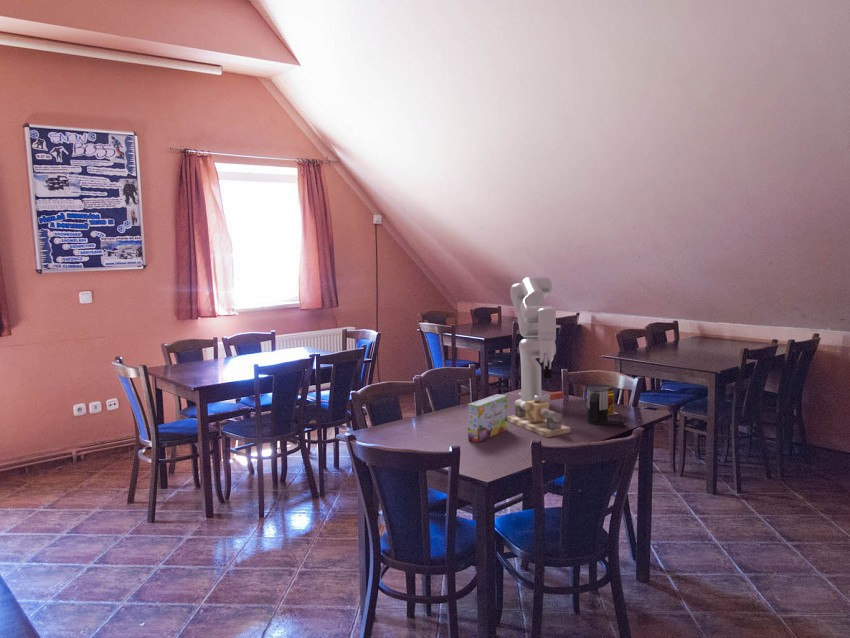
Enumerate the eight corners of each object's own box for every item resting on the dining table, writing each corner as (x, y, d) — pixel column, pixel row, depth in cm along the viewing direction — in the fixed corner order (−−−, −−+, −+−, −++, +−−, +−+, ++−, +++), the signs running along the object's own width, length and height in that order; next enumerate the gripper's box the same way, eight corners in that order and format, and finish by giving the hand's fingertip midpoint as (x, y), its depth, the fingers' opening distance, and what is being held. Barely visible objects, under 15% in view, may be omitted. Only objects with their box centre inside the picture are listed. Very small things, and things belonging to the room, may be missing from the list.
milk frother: (585, 418, 280) (585, 385, 278) (623, 419, 277) (623, 386, 276) (588, 428, 266) (588, 393, 265) (627, 428, 264) (627, 393, 262)
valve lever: (536, 402, 267) (536, 396, 267) (532, 401, 270) (532, 395, 269) (563, 398, 274) (563, 392, 274) (559, 397, 276) (559, 391, 276)
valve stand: (506, 420, 280) (506, 397, 279) (529, 416, 286) (528, 393, 284) (546, 437, 255) (546, 411, 254) (570, 432, 261) (570, 407, 259)
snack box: (479, 443, 251) (478, 405, 249) (467, 440, 254) (466, 403, 252) (508, 430, 267) (507, 394, 265) (496, 427, 270) (496, 393, 269)
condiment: (605, 416, 284) (605, 389, 282) (593, 411, 291) (593, 385, 290) (618, 413, 286) (618, 387, 285) (606, 409, 294) (606, 384, 293)
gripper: (540, 334, 284) (541, 374, 286) (535, 338, 270) (536, 381, 272) (557, 334, 282) (558, 375, 283) (553, 338, 267) (554, 381, 269)
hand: (547, 378), depth 277 cm, fingers closed
